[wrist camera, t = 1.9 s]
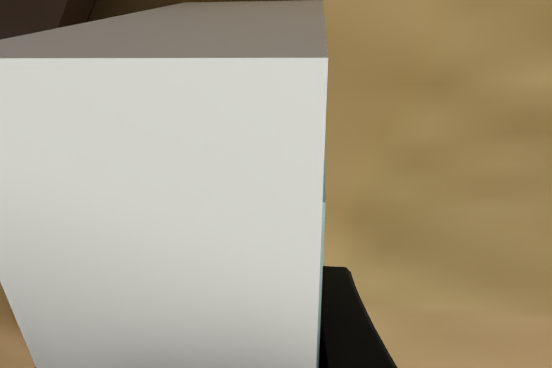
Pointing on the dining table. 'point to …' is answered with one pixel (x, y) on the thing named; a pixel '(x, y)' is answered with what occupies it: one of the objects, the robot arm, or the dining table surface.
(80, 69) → the tall cream box
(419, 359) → the dining table surface
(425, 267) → the dining table surface
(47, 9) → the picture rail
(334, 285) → the robot arm
